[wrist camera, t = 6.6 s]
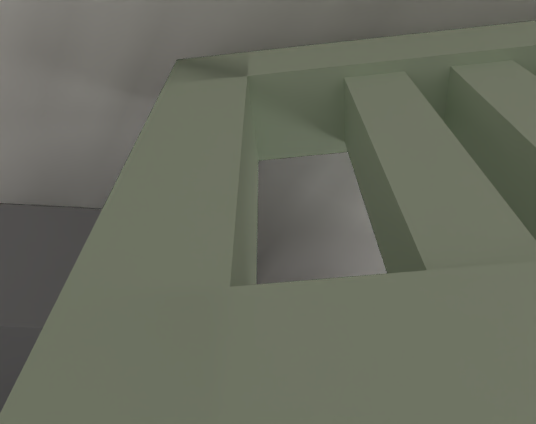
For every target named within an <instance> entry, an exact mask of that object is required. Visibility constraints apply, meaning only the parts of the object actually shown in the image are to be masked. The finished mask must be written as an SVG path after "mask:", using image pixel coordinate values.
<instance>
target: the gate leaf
mask: <svg viewBox="0 0 536 424" xmlns="http://www.w3.org/2000/svg"><path fill="white" fill-rule="evenodd" d="M343 152H348V154H349V157H350V160H351V163H352V166H353V169H354V172H355V175H356V179H357V182H358V185H359V188H360V191H361V194H362V197H363V200H364V203H365V206H366V210H367V213H368V216H369V219H370V222H371V225H372V228H373V231H374V234H375V237H376V240H377V244H378V247H379V250H380V253H381V256H382V259H383V262H384V265H385V268H386V271H387V274H376V275H364V276H352V277H340V278H328V279H316V280H304V281H292V282H280V283H268V284H256V283H257V220H258V161H260V160H271V159H281V158H291V157H302V156H312V155H322V154H333V153H343ZM0 424H536V21H526V22H517V23H508V24H499V25H490V26H481V27H472V28H462V29H453V30H444V31H435V32H426V33H417V34H407V35H398V36H389V37H380V38H371V39H362V40H353V41H343V42H334V43H325V44H316V45H307V46H298V47H288V48H279V49H270V50H261V51H252V52H243V53H233V54H224V55H215V56H206V57H197V58H188V59H179V60H177V61H176V63H175V65H174V67H173V69H172V71H171V73H170V75H169V77H168V79H167V81H166V83H165V85H164V87H163V89H162V91H161V93H160V95H159V97H158V99H157V101H156V103H155V105H154V107H153V109H152V111H151V113H150V115H149V117H148V119H147V121H146V123H145V125H144V127H143V129H142V131H141V133H140V135H139V137H138V139H137V141H136V143H135V145H134V147H133V149H132V151H131V153H130V155H129V157H128V159H127V161H126V163H125V165H124V167H123V169H122V171H121V173H120V175H119V177H118V179H117V181H116V183H115V185H114V187H113V189H112V191H111V193H110V195H109V197H108V199H107V201H106V203H105V205H104V207H103V209H102V211H101V213H100V215H99V217H98V219H97V221H96V223H95V225H94V227H93V229H92V231H91V233H90V235H89V237H88V239H87V241H86V243H85V245H84V247H83V249H82V251H81V253H80V255H79V257H78V259H77V261H76V263H75V265H74V267H73V269H72V271H71V273H70V275H69V277H68V279H67V281H66V283H65V285H64V287H63V289H62V291H61V293H60V295H59V297H58V299H57V301H56V303H55V305H54V307H53V309H52V311H51V313H50V315H49V317H48V319H47V321H46V323H45V325H44V327H43V329H42V331H41V333H40V335H39V337H38V339H37V341H36V343H35V345H34V347H33V349H32V351H31V353H30V355H29V357H28V359H27V361H26V363H25V365H24V367H23V369H22V371H21V373H20V375H19V376H18V379H17V380H16V382H15V384H14V386H13V388H12V390H11V392H10V394H9V396H8V398H7V400H6V402H5V404H4V406H3V408H2V410H1V412H0Z"/></svg>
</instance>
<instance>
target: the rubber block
mask: <svg viewBox="0 0 536 424" xmlns="http://www.w3.org/2000/svg"><path fill="white" fill-rule="evenodd" d="M101 211H102V209H94V208H74V207H55V206H35V205H15V204H0V412H1V410H2V408H3V406H4V404H5V402H6V400H7V398H8V396H9V394H10V392H11V390H12V388H13V386H14V384H15V382H16V380H17V379H18V376H19V375H20V373H21V371H22V369H23V367H24V365H25V363H26V361H27V359H28V357H29V355H30V353H31V351H32V349H33V347H34V345H35V343H36V341H37V339H38V337H39V335H40V333H41V331H42V329H43V327H44V325H45V323H46V321H47V319H48V317H49V315H50V313H51V311H52V309H53V307H54V305H55V303H56V301H57V299H58V297H59V295H60V293H61V291H62V289H63V287H64V285H65V283H66V281H67V279H68V277H69V275H70V273H71V271H72V269H73V267H74V265H75V263H76V261H77V259H78V257H79V255H80V253H81V251H82V249H83V247H84V245H85V243H86V241H87V239H88V237H89V235H90V233H91V231H92V229H93V227H94V225H95V223H96V221H97V219H98V217H99V215H100V213H101Z"/></svg>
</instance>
